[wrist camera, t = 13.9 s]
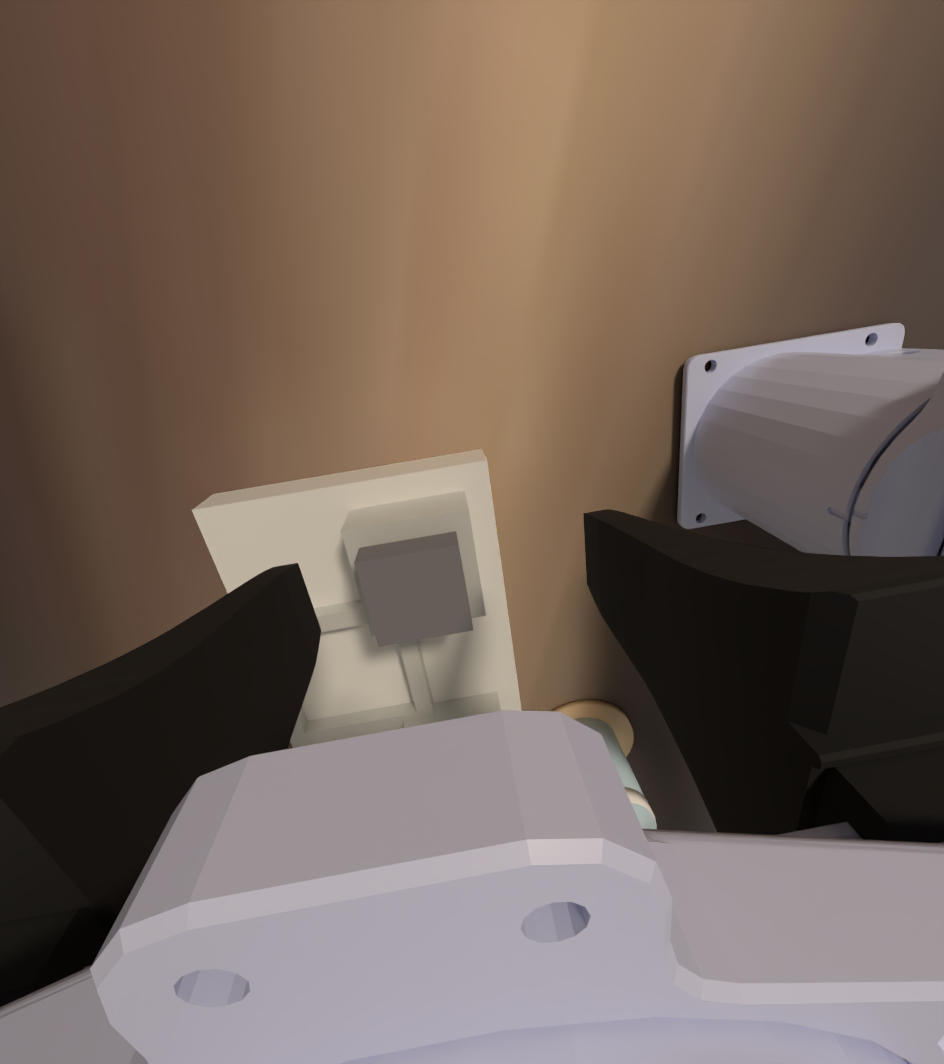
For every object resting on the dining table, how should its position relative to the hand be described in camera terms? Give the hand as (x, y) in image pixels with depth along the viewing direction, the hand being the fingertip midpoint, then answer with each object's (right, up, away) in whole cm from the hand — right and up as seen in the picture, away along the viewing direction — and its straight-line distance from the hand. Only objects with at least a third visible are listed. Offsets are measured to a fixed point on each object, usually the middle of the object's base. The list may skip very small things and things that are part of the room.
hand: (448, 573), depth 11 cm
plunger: (-2, 0, +8) cm, 8 cm away
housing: (-3, -5, +13) cm, 14 cm away
